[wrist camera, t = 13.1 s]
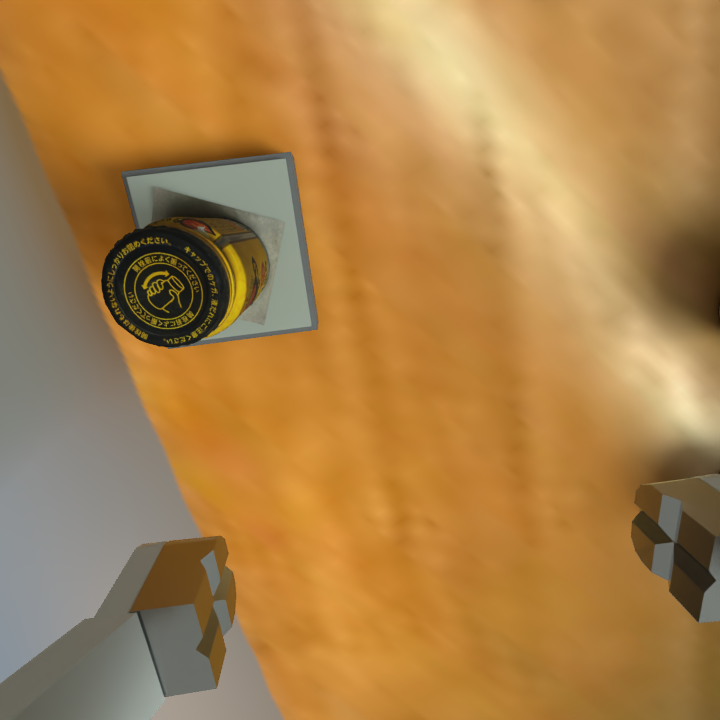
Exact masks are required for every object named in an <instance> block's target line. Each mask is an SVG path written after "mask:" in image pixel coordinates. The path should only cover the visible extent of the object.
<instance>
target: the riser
mask: <svg viewBox="0 0 720 720" xmlns="http://www.w3.org/2000/svg"><path fill="white" fill-rule="evenodd" d="M121 173H122V177H123V181H124V185H125V188H126V192H127V196H128V200H129V204H130V207H131V211H132V215H133V219H134V222H135V226H136V229H143V228H144V227H145V226H147V225H148V224H150V223H151V220H152V211H153V198H154V188H155V187H158V188H161V189H165V190H169V191H172V192H176V193H180V194H184V195H188V196H191V197H195V198H198V199H202V200H205V201H209V202H213V203H216V204H221V205H224V206H227V207H231V208H235V209H239V210H242V211H246V212H249V213H253V214H257V215H260V216H264V217H268V218H271V219H275V220H279V221H282V222H285V227H284V232H283V237H282V241H281V246H280V252H279V257H278V262H277V267H276V271H275V276H274V281H273V286H272V291H271V296H270V300H269V305H268V310H267V315H266V320H265V324H264V325H261V324H257V323H253V322H249V321H244V320H241V319H237V320H236V321H235V322H234V323H233V324H232V325H231V326H229V327H228V328H227V329H225V330H224V331H221V332H220V333H218V334H216V335H214V336H212V337H208V338H204V339H201V340H200V341H198V342H196V343H194V344H190V345H188V346H195V345H203V344H210V343H218V342H226V341H233V340H241V339H249V338H256V337H264V336H272V335H279V334H287V333H295V332H302V331H310V330H318V316H317V309H316V303H315V296H314V289H313V283H312V276H311V269H310V263H309V256H308V249H307V243H306V236H305V229H304V222H303V216H302V209H301V202H300V196H299V189H298V182H297V176H296V169H295V162H294V157H293V155H292V153H291V152H287V153H278V154H269V155H261V156H252V157H244V158H235V159H227V160H218V161H210V162H201V163H192V164H184V165H175V166H167V167H158V168H150V169H141V170H133V171H124V172H121ZM180 347H187V346H186V345H185V346H180ZM180 347H174V348H180ZM168 349H172V348H170V347H168Z"/></svg>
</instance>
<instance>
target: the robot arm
mask: <svg viewBox="0 0 720 720" xmlns="http://www.w3.org/2000/svg"><path fill="white" fill-rule="evenodd" d="M634 503H635V504H636V505H637V507H638V508H639V509H640V513H639V514H638V515H637V516H636V517H635V519H634V520H633V521H632V529H631V538H632V541H633V545H634V548H635V551H636V553H637V554H638V556H639V558H640V559H641V561H642V562H643V563H644V565H645V566H646V567H647V568H648V569H649V570H650V571H651V572H652V573H654V574H656V575H658V576H660V577H662V578H664V579H666V580H668V584H669V592H670V593H671V594H672V595H673V596H674V597H675V598H676V599H677V600H678V601H679V602H680V604H681V605H682V606H683V607H684V608H685V609H686V610H687V611H688V612H689V613H690V614H691V615H692V616H693V617H694V618H695V620H696V621H697V622H698V623H703V622H712V621H720V474H709V475H703V476H696V477H691V478H688V479H680V480H672V481H664V482H656V483H649V484H641V485H640V486H639V488H638V489H637V491H636V495H635V502H634ZM227 557H228V549H227V545H226V541H225V539H224V538H223V537H222V536H213V537H203V538H193V539H183V540H173V541H169V542H157V543H148V544H142V545H140V546H139V547H137V548H136V549H135V550H134V552H133V554H132V555H131V557H130V559H129V561H128V562H127V564H126V566H125V567H124V569H123V570H122V572H121V574H120V575H119V577H118V579H117V580H116V582H115V584H114V585H113V587H112V589H111V590H110V592H109V594H108V595H107V597H106V599H105V600H104V602H103V604H102V605H101V607H100V608H99V610H98V612H97V613H96V615H95V617H94V618H89V619H84V620H83V621H82V622H80V623H79V624H78V625H76V626H75V627H74V628H72V629H71V630H70V631H68V632H67V633H66V634H65V635H63V636H62V637H61V638H59V639H58V640H57V641H55V642H54V643H53V644H51V645H50V646H49V647H48V648H46V649H45V650H44V651H42V652H41V653H40V654H38V655H37V656H36V657H35V658H33V659H32V660H31V661H29V662H28V663H27V664H25V665H24V666H23V667H21V668H20V669H19V670H17V671H16V672H15V673H14V674H12V675H11V676H10V677H8V678H7V679H6V680H4V681H3V682H2V683H0V720H150V719H151V718H152V717H153V715H154V714H155V713H156V711H157V710H158V709H159V708H160V706H161V705H162V704H163V702H164V701H165V698H164V697H168V696H174V695H180V694H186V693H192V692H198V691H204V690H210V689H216V688H217V686H218V681H219V677H220V673H221V669H222V665H223V661H224V657H225V653H226V647H225V643H224V639H223V636H224V635H225V634H226V633H227V631H229V630H230V628H231V627H232V624H233V620H234V615H235V607H236V586H235V579H234V574H233V572H232V571H231V570H230V569H229V568H228V567H226V566H225V564H226V560H227Z"/></svg>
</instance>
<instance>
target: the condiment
mask: <svg viewBox="0 0 720 720" xmlns="http://www.w3.org/2000/svg"><path fill="white" fill-rule="evenodd" d="M284 227H285V222H282V221H279V220H275V219H271V218H268V217H264V216H260V215H257V214H253V213H249V212H246V211H242V210H239V209H235V208H231V207H227V206H224V205H221V204H216V203H213V202H209V201H205V200H202V199H198V198H195V197H191V196H188V195H184V194H180V193H176V192H172V191H169V190H165V189H161V188H158V187H155V188H154V198H153V211H152V220H151V223H150V224H148V225H147V226H145V227H144V228H143V229H135V230H134V231H133V232H132V233H128V234H126V235H125V236H124V237H123V239H121V240H119V241H117V243H116V244H115V246H114V248H113V249H112V250H110V253H109V254H108V255H107V257H106V259H105V263H104V266H103V270H102V280H101V283H102V292H103V298H104V301H105V304H106V305H107V307H108V309H109V310H110V312H111V314H112V316H113V317H114V319H115V321H116V322H117V323H118V324H119V325H120V326H121V327H123V328H124V329H125V330H127V331H128V332H129V333H131V334H132V335H133V336H135V337H136V338H137V339H139V340H141V341H143V342H146V343H149V344H153V345H157V346H163V347H170V348H174V347H180V346H185V345H186V346H188V345H190V344H194V343H196V342H198V341H200V340H201V339H204V338H208V337H212V336H214V335H216V334H218V333H220V332H221V331H224V330H225V329H227V328H228V327H229V326H231V325H232V324H233V323H234V322H235V321H236V320H237V319H241V320H244V321H249V322H253V323H257V324H261V325H264V324H265V320H266V315H267V310H268V305H269V300H270V296H271V291H272V286H273V281H274V276H275V271H276V267H277V262H278V257H279V252H280V246H281V241H282V237H283V232H284Z"/></svg>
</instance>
